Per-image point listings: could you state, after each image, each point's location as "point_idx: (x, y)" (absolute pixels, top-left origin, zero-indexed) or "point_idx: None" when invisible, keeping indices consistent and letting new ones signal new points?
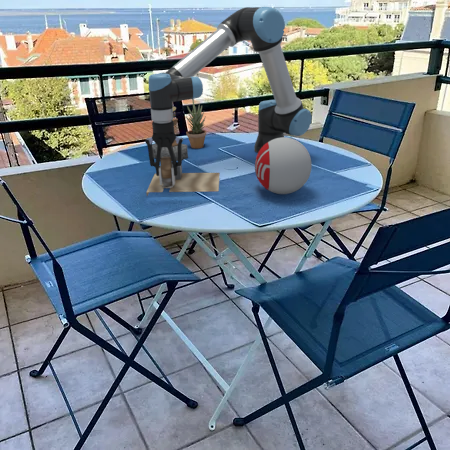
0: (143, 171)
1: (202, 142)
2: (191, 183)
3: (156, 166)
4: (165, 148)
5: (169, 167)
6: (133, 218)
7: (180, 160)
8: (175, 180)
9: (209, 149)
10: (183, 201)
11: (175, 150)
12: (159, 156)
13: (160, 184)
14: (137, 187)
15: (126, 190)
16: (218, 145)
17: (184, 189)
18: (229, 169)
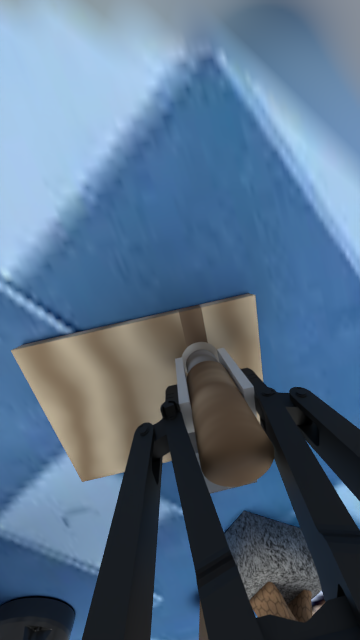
0: None
1: (201, 618)
2: (131, 392)
3: (269, 391)
4: (281, 573)
5: (198, 401)
6: (238, 67)
7: (132, 456)
8: None
9: (180, 590)
10: (114, 272)
11: (249, 569)
12: (287, 455)
13: (222, 349)
14: (293, 351)
15: (320, 324)
16: (168, 610)
17: (134, 342)
18: (82, 510)
